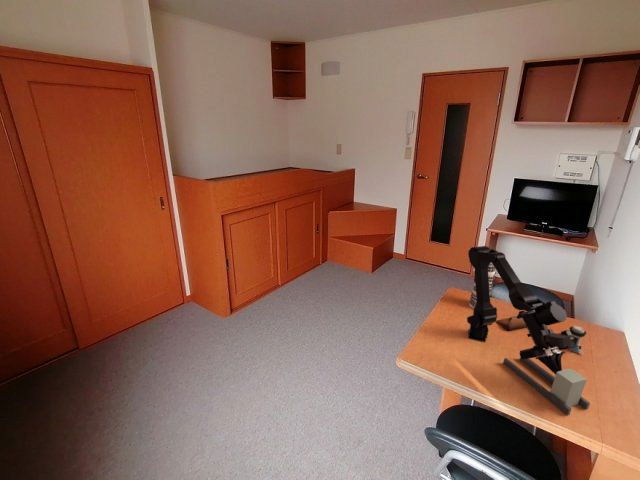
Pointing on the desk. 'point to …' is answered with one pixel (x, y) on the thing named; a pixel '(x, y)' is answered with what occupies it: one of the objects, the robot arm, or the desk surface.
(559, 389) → the block
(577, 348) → the push button
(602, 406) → the desk surface
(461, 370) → the desk surface
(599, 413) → the desk surface
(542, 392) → the steel chute
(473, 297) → the decorative candle
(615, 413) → the desk surface
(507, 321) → the sunglasses case
